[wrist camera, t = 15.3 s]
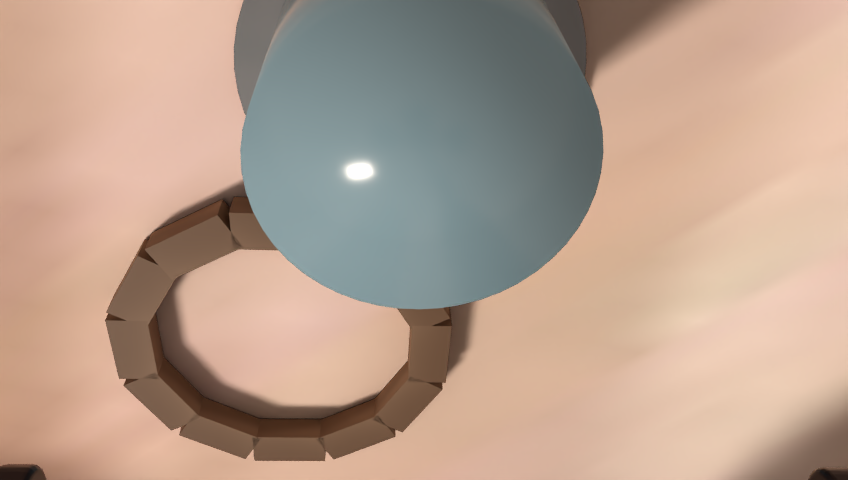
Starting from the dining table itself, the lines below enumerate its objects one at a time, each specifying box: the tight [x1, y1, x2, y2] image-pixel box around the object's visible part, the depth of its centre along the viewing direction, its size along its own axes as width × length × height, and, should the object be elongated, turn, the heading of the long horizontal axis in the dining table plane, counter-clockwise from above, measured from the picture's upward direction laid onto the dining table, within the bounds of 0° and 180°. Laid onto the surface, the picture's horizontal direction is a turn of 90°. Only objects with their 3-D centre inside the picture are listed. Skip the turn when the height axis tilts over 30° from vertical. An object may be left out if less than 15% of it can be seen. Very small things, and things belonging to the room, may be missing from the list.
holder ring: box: [105, 197, 452, 461], centre depth 24 cm, size 10×10×1 cm
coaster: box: [234, 0, 586, 115], centre depth 19 cm, size 9×9×1 cm
